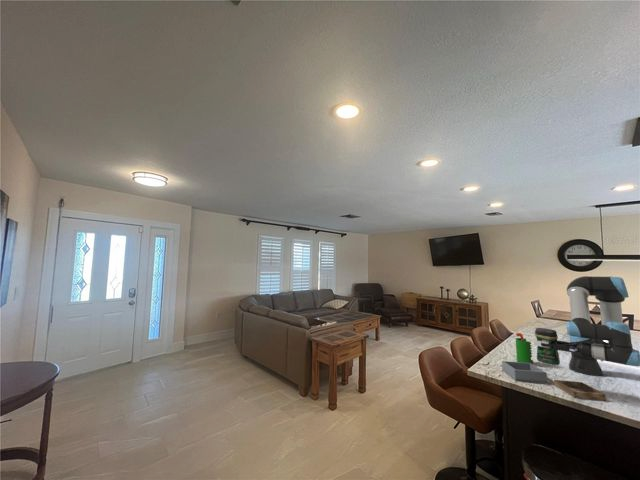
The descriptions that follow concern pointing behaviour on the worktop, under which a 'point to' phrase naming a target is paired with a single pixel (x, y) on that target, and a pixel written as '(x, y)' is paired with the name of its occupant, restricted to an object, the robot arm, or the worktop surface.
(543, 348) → the coffee jar
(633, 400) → the worktop surface
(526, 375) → the charcoal bin
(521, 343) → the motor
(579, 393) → the walnut collar
